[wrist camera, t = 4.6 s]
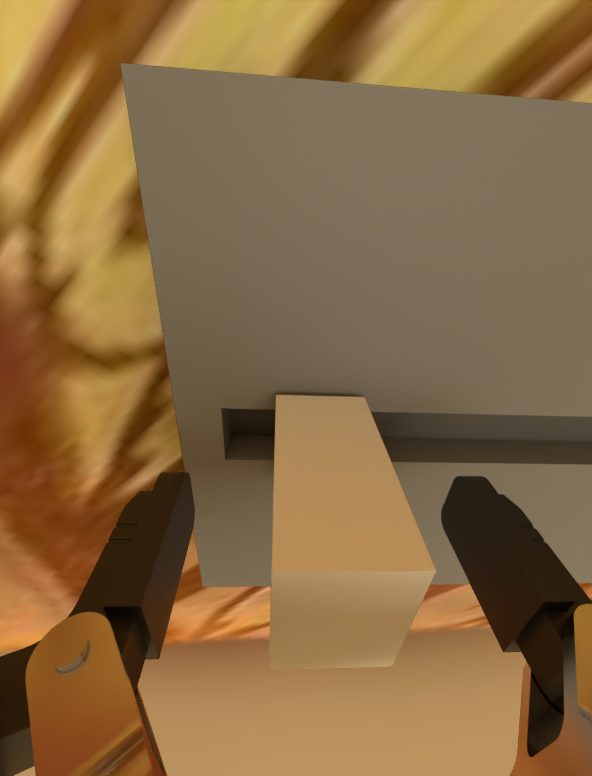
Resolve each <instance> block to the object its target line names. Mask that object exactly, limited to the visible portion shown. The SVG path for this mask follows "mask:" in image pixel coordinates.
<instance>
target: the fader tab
mask: <svg viewBox="0 0 592 776" xmlns="http://www.w3.org/2000/svg"><path fill="white" fill-rule="evenodd" d="M435 573H436V570H435V567H434V565H433V562H432V560H431V557H430V555H429V553H428V550H427V548H426V545H425V543H424V540H423V538H422V536H421V533H420V531H419V528H418V526H417V523H416V521H415V519H414V516H413V514H412V511H411V509H410V506H409V504H408V502H407V499H406V497H405V494H404V492H403V489H402V487H401V484H400V482H399V480H398V477H397V475H396V472H395V470H394V467H393V465H392V463H391V460H390V458H389V455H388V453H387V450H386V448H385V446H384V443H383V441H382V438H381V436H380V433H379V431H378V429H377V426H376V424H375V421H374V419H373V416H372V414H371V412H370V409H369V407H368V404H367V402H366V399H365V397H342V396H303V395H276V412H275V447H274V483H273V524H272V565H271V606H270V649H269V669H302V668H303V669H305V668H343V667H344V668H345V667H383V666H392V665H393V663H394V661H395V659H396V656H397V655H398V652H399V650H400V648H401V646H402V644H403V642H404V639H405V637H406V635H407V633H408V631H409V629H410V626H411V624H412V622H413V620H414V618H415V616H416V614H417V611H418V609H419V607H420V605H421V603H422V601H423V598H424V596H425V594H426V592H427V590H428V588H429V585H430V583H431V581H432V579H433V577H434V575H435Z"/></svg>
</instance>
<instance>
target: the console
mask: <svg viewBox="0 0 592 776" xmlns="http://www.w3.org/2000/svg"><path fill="white" fill-rule="evenodd" d="M120 64H121V70H122V76H123V83H124V89H125V95H126V102H127V108H128V114H129V121H130V127H131V134H132V140H133V146H134V153H135V159H136V165H137V172H138V178H139V184H140V191H141V197H142V203H143V210H144V216H145V222H146V229H147V235H148V242H149V248H150V254H151V261H152V267H153V273H154V280H155V286H156V292H157V299H158V305H159V311H160V318H161V324H162V331H163V337H164V343H165V350H166V356H167V362H168V369H169V375H170V381H171V388H172V394H173V400H174V407H175V413H176V419H177V426H178V432H179V439H180V445H181V451H182V458H183V464H184V470H185V472H188V473H189V474H190V479H191V486H192V493H193V499H194V506H195V518H194V526H193V528H194V534H195V540H196V547H197V553H198V559H199V566H200V572H201V578H202V585H203V587H246V586H271V565H272V524H273V483H274V447H275V412H276V395H303V396H342V397H365V399H366V402H367V404H368V407H369V409H370V412H371V414H372V416H373V419H374V421H375V424H376V426H377V429H378V431H379V433H380V436H381V438H382V441H383V443H384V446H385V448H386V450H387V453H388V455H389V458H390V460H391V463H392V465H393V467H394V470H395V472H396V475H397V477H398V480H399V482H400V484H401V487H402V489H403V492H404V494H405V497H406V499H407V502H408V504H409V506H410V509H411V511H412V514H413V516H414V519H415V521H416V523H417V526H418V528H419V531H420V533H421V536H422V538H423V540H424V543H425V545H426V548H427V550H428V553H429V555H430V557H431V560H432V562H433V565H434V567H435V570H436V573H435V575H434V577H433V579H432V581H431V583H430V585H436V584H470V583H469V581H468V579H467V577H466V574H465V572H464V570H463V568H462V566H461V564H460V562H459V560H458V558H457V556H456V554H455V552H454V550H453V548H452V546H451V544H450V542H449V540H448V537H447V535H446V533H445V531H444V529H443V526H442V521H441V510H442V507H443V505H444V502H445V500H446V497H447V495H448V492H449V490H450V488H451V485H452V483H453V480H454V479H455V477H457V476H483V477H485V478H487V479H488V480H489V482H490V483H491V484H492V486H493V487H494V488H495V490H496V491H497V493H498V494H503V495H505V496H506V497H507V498H508V499H510V500H511V501H512V502H513V503H514V504H516V505H517V506H518V507H519V508H521V510H522V511H523V512H524V514H525V515H526V516H527V517H528V519H529V520H530V521H531V523H532V524H533V527H534V529H537V531H538V532H539V533H540V535H541V536H542V537H543V538H544V542H545V543H547V544H548V545H549V546H550V548H551V549H552V550H553V552H554V553H555V554H556V555H557V557H558V558H559V559H560V561H561V562H562V563H563V565H564V566H565V567H566V569H567V570H568V571H569V573H570V574H571V575H572V576H573V578H574V579H575V580H576V582H577V583H592V103H581V102H570V101H558V100H546V99H535V98H523V97H511V96H500V95H488V94H476V93H465V92H453V91H441V90H430V89H418V88H406V87H395V86H383V85H371V84H360V83H348V82H336V81H324V80H313V79H301V78H289V77H278V76H266V75H254V74H243V73H231V72H219V71H208V70H196V69H184V68H173V67H161V66H149V65H138V64H126V63H120Z"/></svg>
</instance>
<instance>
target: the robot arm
mask: <svg viewBox="0 0 592 776" xmlns="http://www.w3.org/2000/svg"><path fill="white" fill-rule="evenodd" d="M194 518H195V506H194V499H193V493H192V486H191V479H190V474H189V473H188V472H162V473H161V474H160V475H159V477H158V479H157V481H156V484H155V486H154V488H153V491H140V492H139V493H138V494H137V495H136V496H135V497H134V498H133V499H132V500H131V501H130V502H129V503H128V504H127V505H126V506H125V507H124V509H123V511H122V513H121V515H120V517H119V519H118V521H117V523H116V528H114V530H113V532H112V534H111V536H110V538H109V542H108V543H107V544H106V546H105V548H104V550H103V552H102V554H101V556H100V558H99V560H98V562H97V564H96V566H95V568H94V570H93V572H92V574H91V576H90V578H89V580H88V582H87V584H86V586H85V588H84V590H83V592H82V594H81V596H80V598H79V600H78V602H77V604H76V606H75V607H74V609H73V611H72V612H71V613H70V615H69V616H68V617H67V618H66V619H65V620H63V621H62V622H60V623H59V624H57V625H56V626H55V627H54V628H52V629H51V630H50V631H49V632H48V633H47V634H46V635H45V636H44V637H43V638H42V640H40V641H38V642H37V643H35V644H33V645H31V646H28V647H26V648H24V649H21V650H18V651H15V652H12V653H9V654H6V655H4V656H1V657H0V776H14V775H16V774H18V773H20V772H22V771H24V770H26V769H29V768H31V767H33V766H35V774H36V776H167V773H166V770H165V767H164V764H163V761H162V758H161V755H160V752H159V749H158V746H157V743H156V740H155V737H154V734H153V730H152V727H151V724H150V721H149V718H148V715H147V712H146V709H145V706H144V703H143V700H142V697H141V694H140V691H139V688H138V681H139V678H140V675H141V671H142V668H143V664H144V661H145V659H159V657H160V653H161V649H162V646H163V642H164V638H165V634H166V630H167V626H168V623H169V619H170V615H171V611H172V607H173V603H174V600H175V596H176V592H177V588H178V584H179V580H180V577H181V573H182V569H183V565H184V561H185V557H186V553H187V550H188V546H189V542H190V538H191V534H192V530H193V526H194ZM441 521H442V526H443V529H444V531H445V533H446V535H447V537H448V540H449V542H450V544H451V546H452V548H453V550H454V552H455V554H456V556H457V558H458V560H459V562H460V564H461V566H462V568H463V570H464V572H465V574H466V577H467V579H468V581H469V583H470V585H471V587H472V589H473V591H474V593H475V595H476V597H477V599H478V601H479V603H480V605H481V607H482V609H483V611H484V614H485V616H486V618H487V620H488V622H489V624H490V626H491V628H492V630H493V632H494V634H495V636H496V638H497V640H498V642H499V644H500V646H501V648H502V650H503V652H522V654H523V655H524V657H525V659H526V661H527V663H526V664H525V666H524V670H523V682H522V695H521V710H520V722H519V736H518V750H517V757H516V761H515V765H514V767H513V770H512V772H511V774H510V776H592V601H591V600H590V599H589V597H588V596H587V595H586V593H585V592H584V591H583V590H582V588H581V587H580V586H579V584H578V583H577V582H576V580H575V579H574V578H573V576H572V575H571V574H570V573H569V571H568V570H567V569H566V567H565V566H564V565H563V563H562V562H561V561H560V559H559V558H558V557H557V555H556V554H555V553H554V552H553V550H552V549H551V548H550V546H549V545H548V544H547V543H545V542H544V538H543V537H542V536H541V535H540V533H539V532H538V531H537V529H534V527H533V524H532V523H531V521H530V520H529V519H528V517H527V516H526V515H525V514H524V512H523V511H522V510H521V508H519V507H518V506H517V505H516V504H514V503H513V502H512V501H511V500H510V499H508V498H507V497H506V496H505V495H503V494H498V493H497V491H496V490H495V488H494V487H493V486H492V484H491V483H490V482H489V480H488V479H487V478H485V477H483V476H457V477H455V479H454V480H453V483H452V485H451V488H450V490H449V492H448V495H447V497H446V500H445V502H444V505H443V507H442V510H441Z"/></svg>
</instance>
